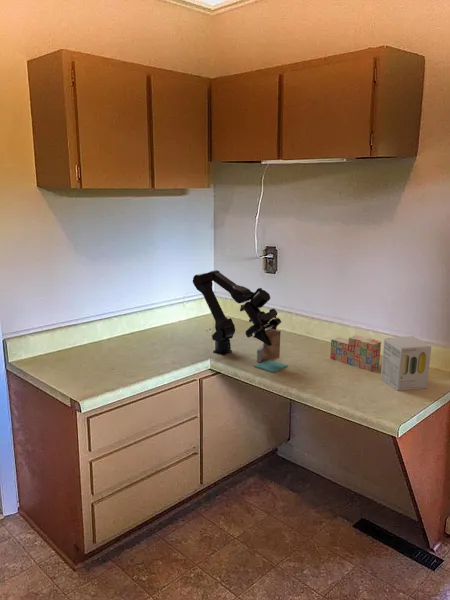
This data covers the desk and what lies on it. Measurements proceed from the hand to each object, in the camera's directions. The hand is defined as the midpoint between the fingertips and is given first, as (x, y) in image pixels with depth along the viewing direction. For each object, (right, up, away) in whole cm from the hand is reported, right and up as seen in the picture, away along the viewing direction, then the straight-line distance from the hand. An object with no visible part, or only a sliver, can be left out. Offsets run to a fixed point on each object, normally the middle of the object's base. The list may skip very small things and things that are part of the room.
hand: (274, 343), depth 229 cm
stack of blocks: (+36, -10, +9) cm, 38 cm away
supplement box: (+50, -15, -13) cm, 54 cm away
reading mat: (-1, -10, +3) cm, 11 cm away
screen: (-4, -7, +15) cm, 17 cm away
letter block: (-1, -6, +2) cm, 7 cm away
